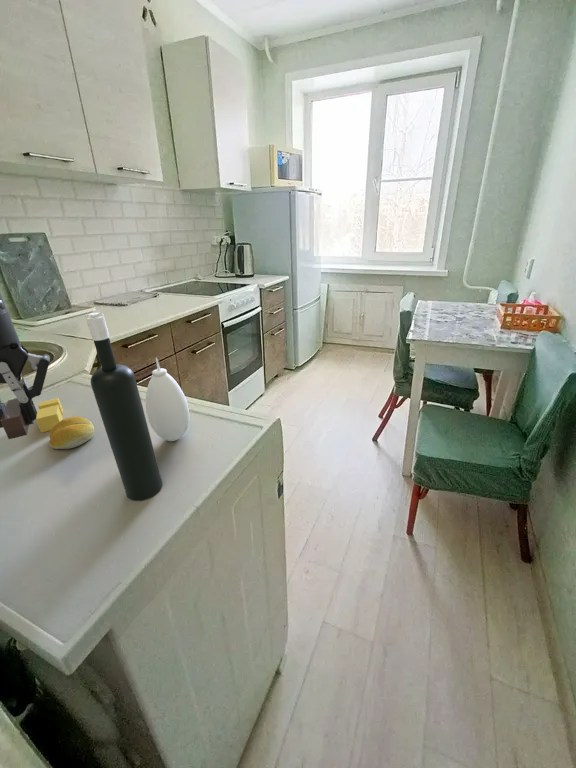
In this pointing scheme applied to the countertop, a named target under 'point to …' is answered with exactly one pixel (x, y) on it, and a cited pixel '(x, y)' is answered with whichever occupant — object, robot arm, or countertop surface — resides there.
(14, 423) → the knife
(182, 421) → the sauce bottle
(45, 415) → the butter block
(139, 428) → the wine bottle
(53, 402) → the butter pat
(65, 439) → the bread roll
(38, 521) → the countertop surface
